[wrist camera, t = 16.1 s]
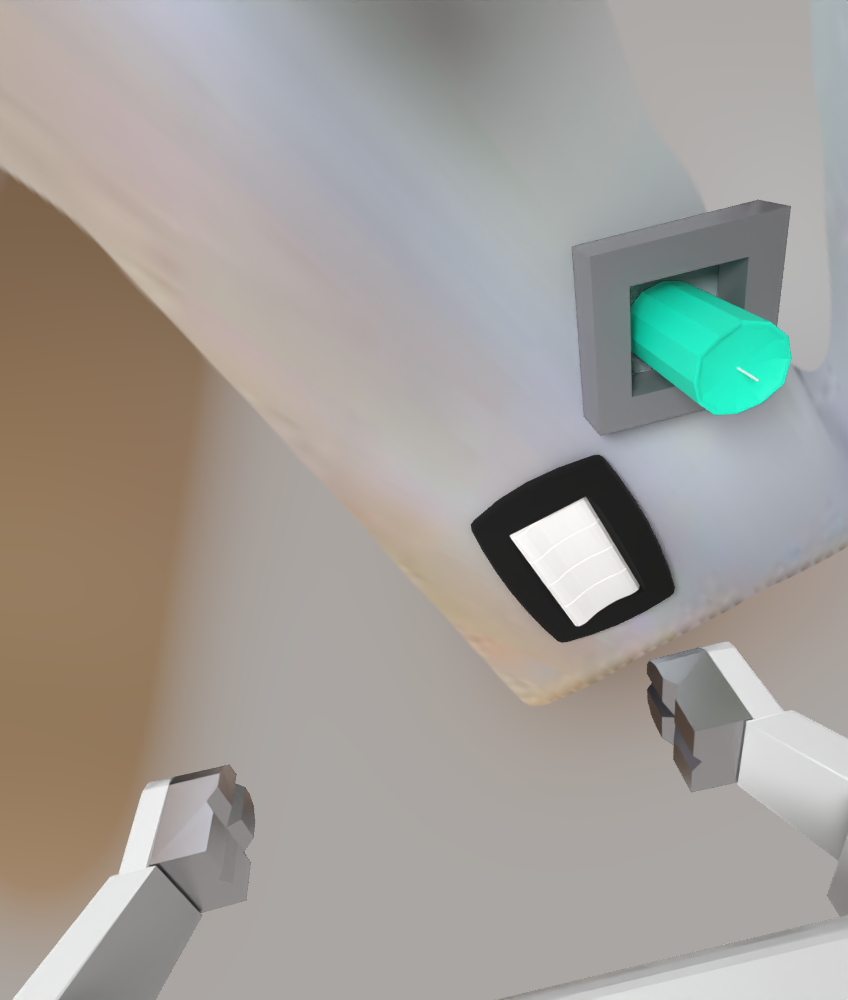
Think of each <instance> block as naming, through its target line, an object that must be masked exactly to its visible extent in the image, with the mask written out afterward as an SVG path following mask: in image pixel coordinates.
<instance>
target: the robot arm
mask: <svg viewBox="0 0 848 1000" xmlns="http://www.w3.org/2000/svg"><path fill="white" fill-rule="evenodd" d="M647 675H648V677H649V678H650V680H651V682H652V683H651V685H650V686H649V687H648V689H647V699H648V704H649V708H650V712H651V715H652V718H653V720H654V723H655V725H656V727H657V729H658V731H659V733H660V735H661V737H662V738H663V739H664V740H666V741H668V742H669V743H671V744H672V745H674V748H673V760H674V762H675V763H676V765H677V767H678V769H679V771H680V773H681V774H682V776H683V778H684V780H685V782H686V784H687V786H688V788H689V789H690V791H691V792H695V791H700V790H704V789H709V788H714V787H719V786H723V785H728V784H732V783H737V782H738V786H739V787H741V788H742V789H744V790H745V791H746V792H747V793H749V794H750V795H752V796H753V797H754V798H755V799H757V800H758V801H759V802H761V803H762V804H763V805H765V806H766V807H767V808H769V809H770V810H772V811H773V812H774V813H775V814H777V815H778V816H779V817H781V818H782V819H783V820H785V821H786V822H787V823H789V824H790V825H791V826H793V827H794V828H795V829H797V830H798V831H799V832H801V833H802V834H803V835H805V836H806V837H807V838H809V839H810V840H812V841H813V842H814V843H815V844H817V845H818V846H819V847H821V848H822V849H823V850H825V851H826V852H827V853H829V854H830V855H831V856H833V857H834V858H835V859H837V860H838V863H837V867H836V870H835V872H834V876H833V878H832V881H831V884H830V887H829V891H828V894H827V896H828V898H829V900H830V901H831V903H832V905H833V906H834V908H835V909H836V911H837V913H838V914H839V916H840V917H838V918H834V919H829V920H825V921H822V922H817V923H813V924H809V925H805V926H800V927H796V928H792V929H788V930H784V931H780V932H776V933H771V934H767V935H763V936H759V937H755V938H750V939H746V940H743V941H738V942H734V943H730V944H726V945H721V946H717V947H713V948H709V949H705V950H701V951H696V952H692V953H688V954H684V955H680V956H676V957H672V958H668V959H663V960H659V961H655V962H651V963H647V964H642V965H639V966H634V967H630V968H626V969H622V970H618V971H613V972H609V973H605V974H601V975H597V976H593V977H588V978H584V979H580V980H576V981H572V982H568V983H564V984H559V985H555V986H551V987H547V988H543V989H539V990H535V991H530V992H526V993H522V994H518V995H514V996H509V997H505V998H502V999H497V1000H848V739H847V738H845V737H844V736H841V735H840V734H838V733H836V732H834V731H832V730H830V729H828V728H826V727H824V726H823V725H820V724H819V723H817V722H815V721H813V720H811V719H809V718H807V717H805V716H803V715H801V714H799V713H798V712H796V711H794V710H790V711H785V712H784V710H783V709H782V708H781V706H780V705H779V704H778V702H777V701H776V700H775V698H774V697H773V696H772V695H771V693H770V692H769V691H768V689H767V688H766V687H765V686H764V684H763V683H762V682H761V680H760V679H759V678H758V676H757V675H756V674H755V672H753V670H752V669H751V667H750V666H749V665H748V663H747V662H746V661H745V659H744V658H743V657H742V656H741V654H740V653H739V652H738V650H737V649H736V648H735V646H734V645H732V644H731V643H729V642H728V641H727V642H721V643H718V644H713V645H710V646H706V647H702V648H695V649H691V650H687V651H683V652H679V653H675V654H672V655H668V656H665V657H660V658H656V659H653V660H649V662H648V664H647ZM236 775H237V774H236V773H235V772H234V770H233V769H232V767H231V766H230V765H225V766H220V767H216V768H212V769H207V770H202V771H198V772H194V773H189V774H184V775H180V776H175V777H170V778H166V779H163V780H158V781H154V782H150V783H148V784H147V786H146V787H145V789H144V790H143V792H142V795H141V798H140V801H139V805H138V809H137V812H136V815H135V819H134V822H133V825H132V829H131V833H130V836H129V839H128V843H127V846H126V850H125V853H124V857H123V860H122V864H121V867H120V870H119V874H117V875H114V876H110V878H109V879H108V880H107V882H106V883H105V884H104V885H103V887H102V888H101V889H100V890H99V892H98V893H97V894H96V895H95V897H94V898H93V899H92V901H91V902H90V903H89V904H88V906H87V907H86V908H85V909H84V910H83V912H82V913H81V914H80V916H79V917H78V918H77V919H76V921H75V922H74V923H73V924H72V926H71V927H70V928H69V929H68V931H67V932H66V933H65V934H64V936H63V937H62V938H61V939H60V941H59V942H58V943H57V945H56V946H55V947H54V948H53V949H52V951H51V952H50V953H49V954H48V956H47V957H46V958H45V960H44V961H43V962H42V963H41V965H40V966H39V967H38V968H37V970H36V971H35V972H34V973H33V975H32V976H31V977H30V978H29V980H28V981H27V982H26V984H25V985H24V986H23V987H22V989H21V990H20V991H19V992H18V994H17V995H16V996H15V997H14V999H13V1000H155V999H156V998H157V996H158V995H159V993H160V991H161V989H162V987H163V985H164V983H165V982H166V980H167V978H168V977H169V975H170V973H171V971H172V969H173V967H174V966H175V964H176V962H177V960H178V958H179V957H180V955H181V953H182V951H183V949H184V948H185V946H186V944H187V942H188V940H189V938H190V937H191V935H192V933H193V931H194V929H195V928H196V926H197V924H198V922H199V921H200V919H201V916H202V914H201V913H203V912H206V911H210V910H214V909H217V908H221V907H225V906H228V905H232V904H235V903H239V902H243V901H246V900H247V891H248V883H249V874H250V865H251V862H250V860H249V859H248V857H247V856H246V854H245V852H244V851H245V850H246V848H247V847H248V845H249V844H250V842H251V841H252V839H253V838H254V828H255V815H254V805H253V802H252V799H251V796H250V794H249V792H248V791H247V789H246V788H245V787H243V786H241V785H238V784H236V783H235V781H236Z"/></svg>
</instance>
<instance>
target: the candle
mask: <svg viewBox="0 0 848 1000" xmlns="http://www.w3.org/2000/svg"><path fill="white" fill-rule="evenodd" d="M630 329H631V352H633V353H634V354H635V355H636V356H638V357H639V358H640V359H642V360H643V361H644V362H645V363H647V364H648V365H649V366H651V367H652V368H653V369H654V370H656V371H657V372H658V373H660V374H661V375H662V376H663V377H665V378H666V379H667V380H668V381H670V382H671V383H672V384H674V385H675V386H676V387H677V388H679V389H680V390H681V391H683V392H684V393H685V394H686V395H688V396H689V397H690V398H692V399H693V400H694V401H695V402H697V403H698V404H699V405H701V406H702V407H704V408H705V409H707V410H708V411H710V412H711V413H712V414H714V415H724V414H737V413H740V412H742V411H745V410H747V409H749V408H752V407H754V406H756V405H759V404H761V403H763V402H764V401H765V400H766V399H767V398H768V397H770V396H771V395H772V394H773V393H774V392H775V391H776V390H778V389H779V388H780V387H781V386H782V385H783V384H784V382H785V378H786V375H787V372H788V368H789V365H790V361H791V352H790V344H789V337H788V336H787V335H786V334H785V333H784V332H783V331H781V330H780V329H779V328H778V327H776V326H775V325H774V324H773V323H771V322H770V321H767V320H765V319H763V318H761V317H759V316H757V315H754V314H752V313H750V312H748V311H746V310H744V309H742V308H739V307H737V306H735V305H733V304H731V303H729V302H726V301H724V300H722V299H720V298H718V297H716V296H713V295H711V294H709V293H707V292H705V291H703V290H700V289H698V288H696V287H694V286H692V285H690V284H688V283H685V282H683V281H661V282H659V283H657V284H655V285H654V286H652V287H650V288H648V289H646V290H644V291H642V292H641V294H640V295H639V296H638V298H637V299H636V300H635V302H634V303H633V304H632V305H631V307H630Z"/></svg>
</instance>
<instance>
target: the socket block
mask: <svg viewBox="0 0 848 1000" xmlns="http://www.w3.org/2000/svg"><path fill="white" fill-rule="evenodd" d="M790 209H791V206H787V205H782V204H777V203H772V202H766V201H761V200H756V201H752V202H748V203H744V204H740V205H736V206H732V207H728V208H724V209H720V210H716V211H712V212H708V213H704V214H700V215H696V216H692V217H688V218H684V219H680V220H676V221H672V222H668V223H664V224H660V225H656V226H652V227H648V228H644V229H640V230H636V231H632V232H628V233H624V234H620V235H616V236H612V237H608V238H604V239H600V240H596V241H593V242H589V243H585V244H581V245H577V246H573V247H572V254H573V269H574V283H575V297H576V311H577V326H578V340H579V354H580V368H581V383H582V397H583V411H584V417H585V418H586V420H587V421H588V422H589V423H590V424H591V425H592V427H593V428H594V429H595V430H596V431H597V433H598V434H599V435H600V436H601V435H605V434H609V433H613V432H617V431H621V430H625V429H629V428H633V427H637V426H641V425H645V424H649V423H653V422H657V421H661V420H665V419H669V418H673V417H677V416H681V415H685V414H689V413H693V412H697V411H701V410H705V408H704V407H702V406H701V405H699V404H698V403H697V402H695V401H694V400H693V399H692V398H690V397H689V396H688V395H686V394H685V393H684V392H683V391H681V390H680V389H679V388H677V387H676V386H675V385H674V384H672V383H671V382H670V381H668V380H667V379H666V378H665V377H663V376H662V375H661V374H660V373H658V372H657V371H656V370H651V371H647V372H643V373H639V374H635V375H631V329H630V286H634V285H638V284H642V283H646V282H650V281H654V280H658V279H662V278H666V277H670V276H674V275H678V274H682V273H686V272H690V271H694V270H698V269H702V268H706V267H710V266H714V265H718V264H719V273H718V290H717V297H718V298H720V299H722V300H724V301H726V302H729V303H731V304H733V305H735V306H737V307H739V308H742V309H744V310H746V311H748V312H750V313H752V314H754V315H757V316H759V317H761V318H763V319H765V320H767V321H770V322H771V323H773V324H774V325H775V326H776V327H777V322H778V313H779V304H780V296H781V287H782V278H783V270H784V261H785V252H786V244H787V234H788V226H789V218H790Z"/></svg>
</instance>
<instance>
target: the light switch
mask: <svg viewBox="0 0 848 1000" xmlns="http://www.w3.org/2000/svg"><path fill="white" fill-rule="evenodd" d="M471 529H472V532H473V534H474V536H475V538H476V539H477V541H478V543H479V545H480V547H481V549H482V550H483V552H484V554H485V555H486V557H487V558H488V560H489V561H490V563H491V565H492V566H493V568H494V569H495V571H496V572H497V574H498V575H499V577H500V578H501V579H502V581H503V582H504V583H505V585H506V586H507V588H508V589H509V590H510V592H511V593H512V594H513V595H514V596H515V598H516V599H517V600H518V601H519V602H520V603H521V605H522V606H523V607H524V608H525V609H526V610H527V611H528V613H529V614H530V615H531V616H532V617H533V618H534V619H535V620H536V621H537V622H538V623H539V624H540V625H541V626H542V627H543V628H544V629H545V630H546V631H547V632H548V633H549V634H551V635H552V636H553V637H554V638H555V639H556V640H557V641H559V642H561V643H562V642H568V641H572V640H575V639H578V638H582V637H585V636H588V635H592V634H595V633H597V632H600V631H602V630H605V629H608V628H610V627H613V626H616V625H618V624H620V623H622V622H624V621H626V620H628V619H630V618H632V617H635V616H637V615H639V614H641V613H643V612H645V611H646V610H648V609H650V608H651V607H653V606H655V605H656V604H658V603H660V602H661V601H663V600H665V599H666V598H668V597H670V596H671V595H672V594H673V593H674V588H675V587H674V583H673V580H672V577H671V573H670V570H669V568H668V565H667V563H666V560H665V558H664V555H663V553H662V550H661V548H660V545H659V543H658V541H657V539H656V537H655V535H654V533H653V531H652V529H651V527H650V525H649V523H648V521H647V519H646V517H645V516H644V514H643V512H642V511H641V509H640V507H639V506H638V504H637V502H636V501H635V499H634V498H633V496H632V495H631V493H630V492H629V491H628V489H627V488H626V486H625V485H624V483H623V482H622V481H621V479H620V478H619V476H618V475H617V474H616V473H615V471H614V470H613V469H612V468H611V466H610V465H609V464H608V463H607V462H606V460H605V459H604V458H603V457H601V456H600V455H593V456H590V457H587V458H585V459H582V460H579V461H576V462H573V463H570V464H568V465H565V466H562V467H559V468H557V469H555V470H552V471H550V472H548V473H546V474H544V475H542V476H540V477H537V478H535V479H533V480H531V481H529V482H527V483H525V484H523V485H522V486H520V487H518V488H517V489H515V490H514V491H512V492H510V493H509V494H507V495H505V496H504V497H502V498H501V499H499V500H498V501H496V502H495V503H494V504H493V505H492V506H491V507H489V508H488V509H487V510H486V511H485V512H483V513H482V514H481V515H480V516H479V517H478V518H476V519H475V520H474V521H473V523H472V524H471Z"/></svg>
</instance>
